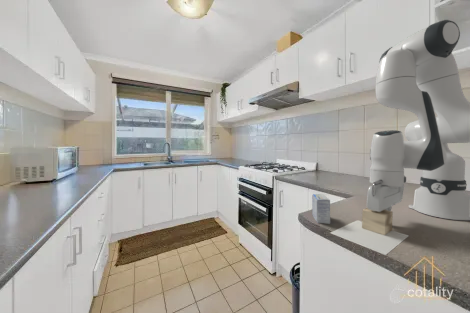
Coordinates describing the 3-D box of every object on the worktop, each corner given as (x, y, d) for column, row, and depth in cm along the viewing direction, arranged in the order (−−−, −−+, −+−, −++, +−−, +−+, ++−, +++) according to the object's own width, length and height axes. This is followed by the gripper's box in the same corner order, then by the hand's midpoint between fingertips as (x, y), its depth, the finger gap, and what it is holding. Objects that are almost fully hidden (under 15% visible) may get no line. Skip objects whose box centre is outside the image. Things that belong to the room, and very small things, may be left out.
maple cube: (370, 223, 62) (370, 206, 62) (392, 230, 57) (392, 211, 57) (362, 228, 59) (362, 209, 59) (384, 235, 54) (385, 215, 54)
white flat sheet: (357, 220, 66) (357, 220, 66) (409, 236, 54) (409, 235, 54) (329, 233, 56) (329, 232, 56) (385, 255, 44) (385, 255, 44)
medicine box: (330, 224, 63) (330, 199, 62) (316, 223, 64) (317, 199, 63) (324, 216, 71) (324, 194, 70) (311, 215, 71) (312, 193, 71)
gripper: (385, 183, 53) (384, 230, 53) (408, 177, 64) (406, 215, 64) (361, 180, 58) (360, 222, 58) (385, 175, 69) (384, 210, 70)
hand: (384, 218), depth 61 cm, fingers closed
